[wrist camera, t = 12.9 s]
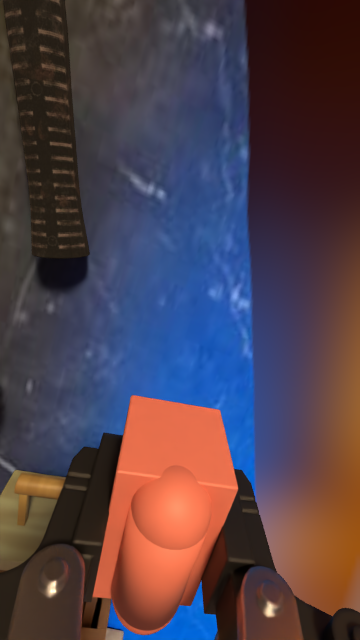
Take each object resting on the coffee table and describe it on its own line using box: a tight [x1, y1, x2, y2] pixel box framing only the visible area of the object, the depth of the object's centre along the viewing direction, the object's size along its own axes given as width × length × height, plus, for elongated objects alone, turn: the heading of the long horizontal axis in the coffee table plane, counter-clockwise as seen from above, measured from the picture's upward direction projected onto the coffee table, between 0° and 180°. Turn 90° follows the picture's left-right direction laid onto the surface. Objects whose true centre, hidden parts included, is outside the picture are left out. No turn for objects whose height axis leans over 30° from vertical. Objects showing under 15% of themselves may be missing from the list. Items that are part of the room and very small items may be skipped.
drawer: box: [0, 470, 98, 628], centre depth 26 cm, size 15×10×7 cm
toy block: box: [93, 395, 238, 635], centre depth 9 cm, size 3×5×4 cm, turn 167°
